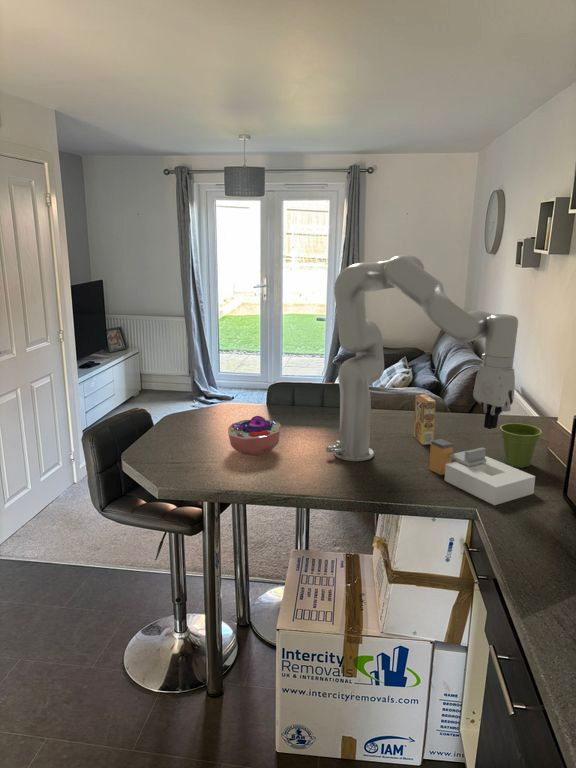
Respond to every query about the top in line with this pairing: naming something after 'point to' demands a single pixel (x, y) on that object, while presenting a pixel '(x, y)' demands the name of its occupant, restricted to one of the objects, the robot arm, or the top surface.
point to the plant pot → (519, 443)
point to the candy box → (424, 419)
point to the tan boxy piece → (440, 455)
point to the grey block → (470, 456)
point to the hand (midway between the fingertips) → (490, 427)
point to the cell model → (254, 435)
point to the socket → (490, 480)
